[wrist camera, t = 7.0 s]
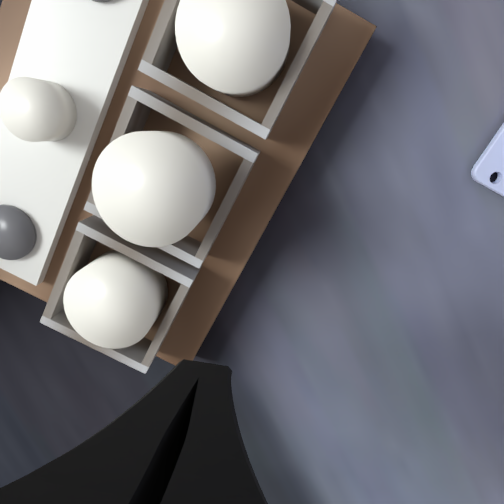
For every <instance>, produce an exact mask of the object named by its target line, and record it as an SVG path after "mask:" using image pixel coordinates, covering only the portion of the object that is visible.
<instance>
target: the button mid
mask: <svg viewBox="0 0 504 504" xmlns="http://www.w3.org/2000/svg"><path fill="white" fill-rule="evenodd" d="M215 191H216V179H215V173H214V170H213V167H212V164H211V162H210V160H209V158H208V156H207V155H206V154H205V152H204V151H203V150H202V149H201V148H200V146H199V145H197V144H196V143H195V142H194V141H193V140H191V139H189V138H188V137H186V136H184V135H181V134H179V133H175V132H170V131H138V132H132V133H128V134H125V135H123V136H120V137H118V138H117V139H115V140H113V141H112V142H111V143H110V144H109V145H107V147H106V148H105V149H104V150H103V151H102V153H101V154H100V156H99V157H98V159H97V161H96V164H95V167H94V170H93V175H92V194H93V198H94V202H95V205H96V208H97V210H98V212H99V214H100V216H101V217H102V219H103V220H104V222H105V223H106V224H107V225H108V227H109V228H110V229H111V230H112V231H114V232H115V233H116V234H117V235H119V236H120V237H121V238H123V239H125V240H127V241H129V242H131V243H133V244H137V245H140V246H145V247H162V246H167V245H170V244H173V243H176V242H177V241H179V240H181V239H183V238H184V237H185V236H187V235H188V234H189V233H190V232H191V231H192V230H193V229H194V228H195V227H196V226H197V224H198V223H199V222H200V221H201V220H202V219H203V218H204V217H205V215H206V214H207V213H208V211H209V209H210V208H211V206H212V203H213V201H214V197H215Z"/></svg>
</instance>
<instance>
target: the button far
mask: <svg viewBox="0 0 504 504" xmlns="http://www.w3.org/2000/svg"><path fill="white" fill-rule="evenodd" d="M167 297H168V287H167V282H166V279H165V277H164V275H163V274H161V273H159V272H157V271H155V270H153V269H151V268H149V267H147V266H145V265H144V264H142V263H140V262H138V261H136V260H134V259H132V258H130V257H128V256H126V255H124V254H122V253H120V252H118V251H116V250H111V251H108V252H106V253H104V254H102V255H101V256H99V257H98V258H96V259H95V260H94V261H92V262H91V263H89V264H88V265H86V266H85V267H83V268H82V269H81V270H79V271H78V272H77V273H75V274H74V275H73V276H72V277H71V279H70V280H69V281H68V283H67V285H66V288H65V291H64V296H63V304H64V310H65V314H66V316H67V319H68V320H69V322H70V324H71V325H72V327H73V328H74V329H75V331H76V332H77V333H78V334H79V335H81V336H82V337H83V338H84V339H86V340H87V341H89V342H91V343H93V344H95V345H97V346H100V347H104V348H111V349H119V348H126V347H129V346H132V345H134V344H136V343H137V342H139V341H140V340H141V339H142V338H144V337H145V335H146V334H147V333H148V331H149V330H150V328H151V327H152V325H153V324H154V322H155V321H156V319H157V318H158V316H159V315H160V313H161V312H162V310H163V309H164V307H165V304H166V302H167Z"/></svg>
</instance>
